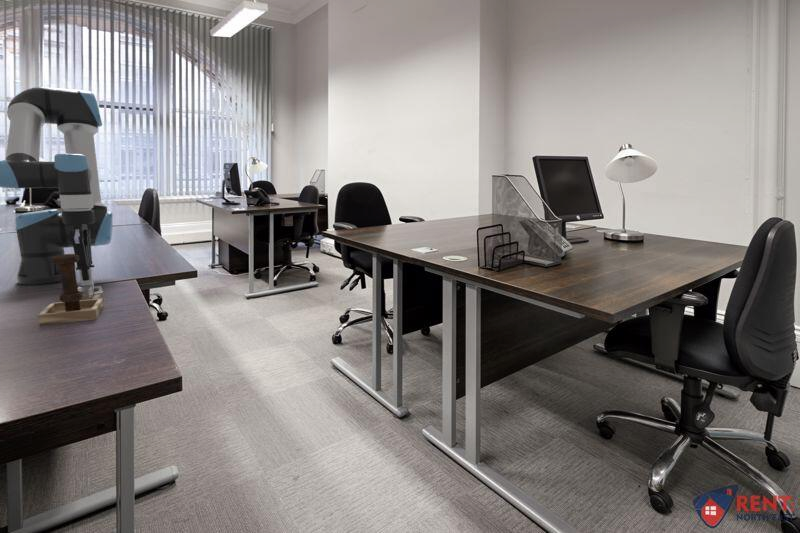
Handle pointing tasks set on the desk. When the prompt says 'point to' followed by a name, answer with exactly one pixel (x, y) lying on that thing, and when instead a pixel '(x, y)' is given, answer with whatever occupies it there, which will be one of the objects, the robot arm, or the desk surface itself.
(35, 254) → the robot arm
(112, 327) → the desk surface
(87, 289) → the grey rectangular block
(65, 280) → the bolt
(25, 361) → the desk surface
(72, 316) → the socket
